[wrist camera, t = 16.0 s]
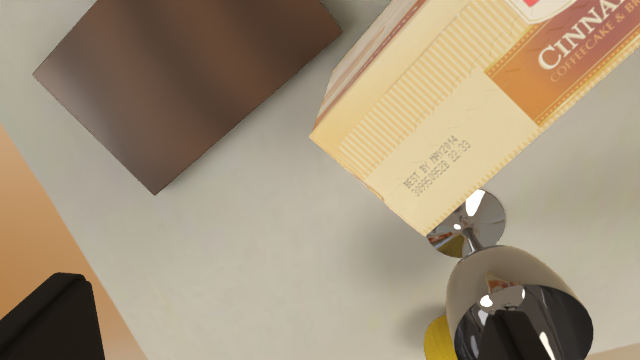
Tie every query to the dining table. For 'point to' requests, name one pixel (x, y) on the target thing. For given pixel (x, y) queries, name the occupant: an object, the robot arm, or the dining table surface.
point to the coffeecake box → (462, 92)
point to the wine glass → (504, 284)
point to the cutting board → (178, 72)
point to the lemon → (439, 341)
